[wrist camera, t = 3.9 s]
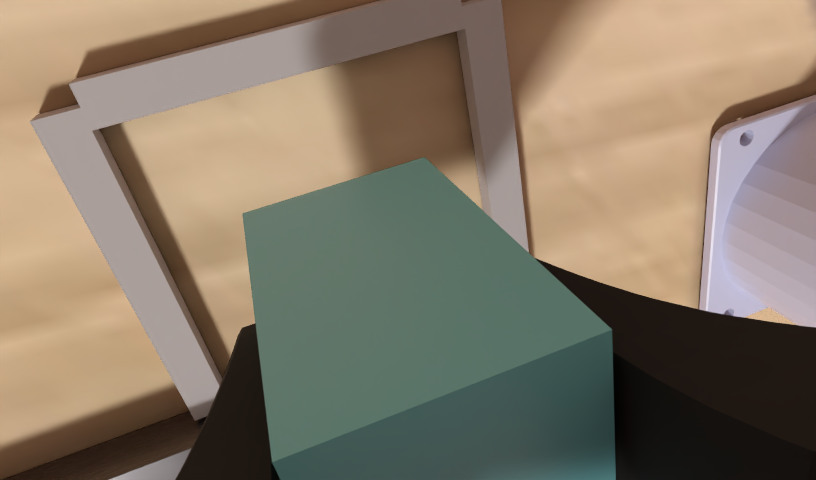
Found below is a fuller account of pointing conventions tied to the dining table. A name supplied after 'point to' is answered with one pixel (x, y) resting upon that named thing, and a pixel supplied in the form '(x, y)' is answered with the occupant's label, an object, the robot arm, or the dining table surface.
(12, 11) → the dining table surface
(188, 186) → the dining table surface
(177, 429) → the port block
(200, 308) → the dining table surface
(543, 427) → the plug
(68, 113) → the open picture frame
